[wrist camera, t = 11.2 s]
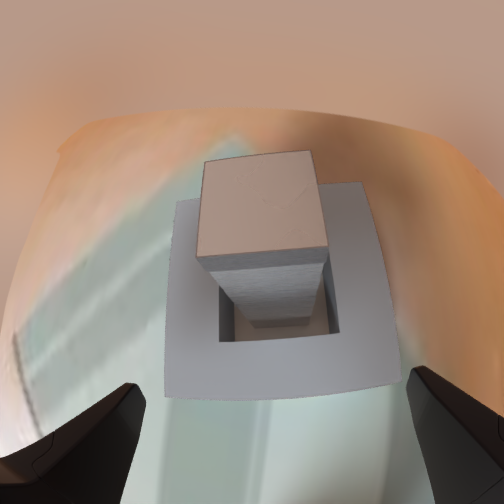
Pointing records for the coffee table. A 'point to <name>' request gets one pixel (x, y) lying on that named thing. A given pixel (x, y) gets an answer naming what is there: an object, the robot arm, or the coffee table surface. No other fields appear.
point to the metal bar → (264, 235)
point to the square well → (284, 338)
